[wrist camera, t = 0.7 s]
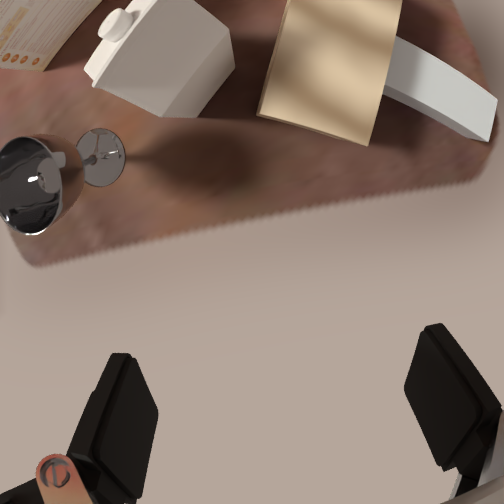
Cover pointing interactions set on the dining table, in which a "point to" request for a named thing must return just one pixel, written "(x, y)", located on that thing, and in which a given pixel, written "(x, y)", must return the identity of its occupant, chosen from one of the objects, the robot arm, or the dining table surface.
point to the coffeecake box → (38, 30)
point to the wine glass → (53, 175)
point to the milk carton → (162, 56)
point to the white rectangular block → (439, 91)
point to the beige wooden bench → (331, 66)
